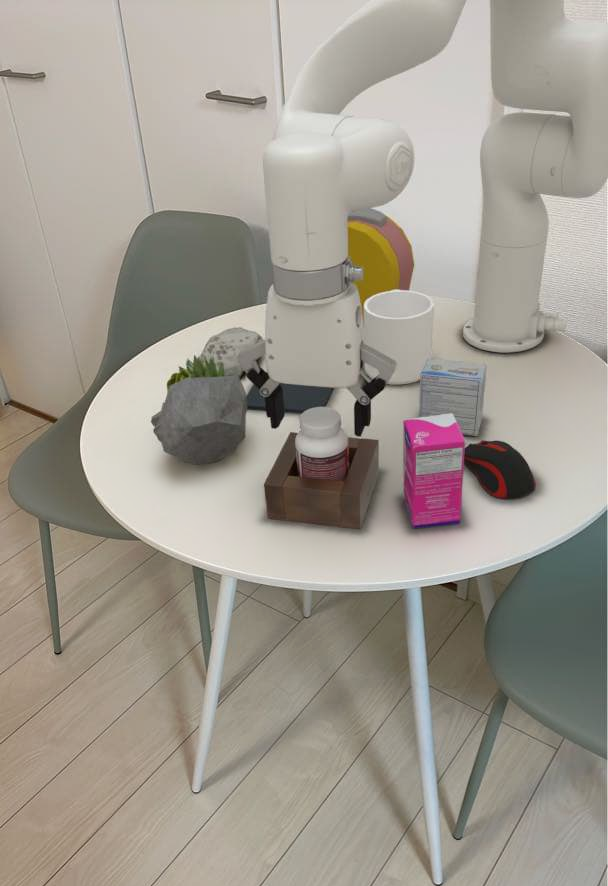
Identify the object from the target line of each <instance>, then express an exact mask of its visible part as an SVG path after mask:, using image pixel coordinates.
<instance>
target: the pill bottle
mask: <svg viewBox="0 0 608 886" xmlns="http://www.w3.org/2000/svg"><path fill="white" fill-rule="evenodd" d="M299 429H300V430H299V431H298V432H297V433H298V434H297V436H296V439H295V448H296V458H297V469H298V477H306V478H316V479H326V480H335V481H344V482H345V479H346V477H347V474H348V471H349V446H348V437H349V436H348V433H347V431H346V430H345V429H344V428H343V427H342V417H341V414H340V412H339V411H338V410H337V409H335V408H333V407H328V406H325V407H315V408H311V409H308V410H306V411H304V412H303V413H300V416H299Z"/></svg>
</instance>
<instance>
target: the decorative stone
mask: <svg viewBox="0 0 608 886" xmlns="http://www.w3.org/2000/svg"><path fill="white" fill-rule="evenodd" d="M263 340H264V339H263V337H262V335H260V334H259V333H258V332H256V331H253V330H249V329H247V328H244V327H241V326H239V327H230V328H227V329H224V330H223V331H221V332H219V333H218V334H215V335H213V336H211V337H210V338H208V341H207V342H206V343H205V345H204V348H203V349H202V351H201V354H200V355H198V357H199V358H200V360H201V361H202V362H203V363H204V355H205V357H206V359H207V361H208V363H209V361H210V357H211V358H212V357H213V358H214V363H216V369H217V374H218V371H219V367H220V362H222V363H223V367H224V375H225V376H229V375H230V376H231V375H238V377H239V379H240V378H241V376H243V374H244V372H245V371H244V370H243V368H242V367H241V365H240V363H239V362H238V360H237V356H238V355H239V353H240V352H241V351H242V350H243V349H246V348H248V347H250V346H252V345H254V344H256V343H258V342H260V341H263ZM258 359H259V358H257V359H255V361H257V360H258Z"/></svg>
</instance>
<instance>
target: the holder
mask: <svg viewBox="0 0 608 886" xmlns="http://www.w3.org/2000/svg"><path fill="white" fill-rule="evenodd" d="M297 434H298V432H295V431H290V432H289V434H288V436H287V437H286V439H285V440H286V441H285V442H284V444H283V446H282V448H281V450H280V451H279V454H278V455H277V457H276V459H275V461H274V464H273V465H272V467H271V469H270V471H269V473H268V475H267V477H266V479H265V481H264V483H263V489H264V497H265V505H266V513H267V519H271V520H279V521H280V520H281V521H289V522H297V523H305V524H313V525H323V526H324V525H325V526H330V527H331V526H332V527H338V528H339V527H340V528H341V527H342V528H347V529H354V530H361V529H362V526H363V523H364V520H365V517H366V514H367V509H368V508H369V504H370V502H371V498H372V495H373V492H374V489H375V486H376V484H377V480H378V478H379V474H380V440H379V439H374V438H372V439H371V438H363V437H361V438H359V437H352V436H351V437H350V436H348V446H349V471H348V474H347V477H346V479H345V482H344V481H335V480H326V479H316V478H306V477H298V469H297V458H296V448H295V439H296V436H297Z"/></svg>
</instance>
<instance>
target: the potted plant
mask: <svg viewBox="0 0 608 886" xmlns="http://www.w3.org/2000/svg"><path fill="white" fill-rule="evenodd" d="M185 361H186V362H185V366H186V368H184V367H182V366H179V365H178V368H179V369H178V372H174V373H172V374H171V375H170V378H169V379H168V380H167V381H166V397H165V399H164V401H163V402H162V405H161V409H160V411H158V412H157V413H155V414H154V415H153V416H151V418H150V419H151V420H150V423H151V424H152V426H153V427H154V428H153V430H152V431H153V434H154V435H155V436H156V439H157V441H159V442H160V443H161V447H162V450H163V452H164V453H166V454H168V455H169V456H171V457H172V458H176V459H178V460H180V461H183V462H187V463H189V464H192V465H196V466H197V465H202V464H209V463H215V462H218V461H220V460H222V459H224V458H226V457H228V456H230V455H233V453H234V451H236V449H237V448H238V447H239V446H240V445H241V444H242V442H243V441H244V440H245V438H246V426H247V425H246V421H247V412H248V409H247V393H246V390H245V387H244V385H243V383H242V381H241V379H240V378H239V377H238V375H231V376H230V375H229V376H225V375H224V367H223V363H222V362H220V367H219V371H218V374H217V369H216V363H214V358H213V357H212V358H211V357H210V361H209V363H208V361H207V359H206V357H205V355H204V363H203V362H202V361H201V360H200V358H199V356H196V355H195V354H194V355H193V362H192V361H191V360H190V359H189V357H188V358H187V359H186V360H185Z"/></svg>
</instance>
